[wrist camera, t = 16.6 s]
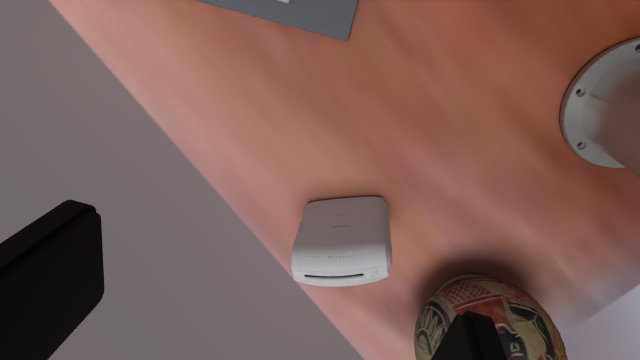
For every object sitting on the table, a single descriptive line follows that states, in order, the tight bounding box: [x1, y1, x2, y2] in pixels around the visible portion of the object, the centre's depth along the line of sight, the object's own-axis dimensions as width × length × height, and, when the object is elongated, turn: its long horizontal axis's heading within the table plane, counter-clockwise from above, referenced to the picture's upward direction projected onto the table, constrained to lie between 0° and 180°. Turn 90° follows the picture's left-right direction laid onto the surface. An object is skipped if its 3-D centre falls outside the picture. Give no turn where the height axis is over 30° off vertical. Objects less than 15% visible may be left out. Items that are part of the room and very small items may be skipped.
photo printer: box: [291, 197, 392, 287], centre depth 40 cm, size 10×4×12 cm, turn 99°
